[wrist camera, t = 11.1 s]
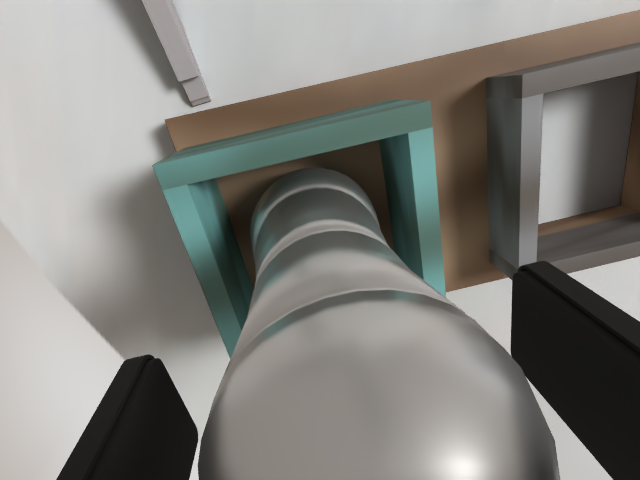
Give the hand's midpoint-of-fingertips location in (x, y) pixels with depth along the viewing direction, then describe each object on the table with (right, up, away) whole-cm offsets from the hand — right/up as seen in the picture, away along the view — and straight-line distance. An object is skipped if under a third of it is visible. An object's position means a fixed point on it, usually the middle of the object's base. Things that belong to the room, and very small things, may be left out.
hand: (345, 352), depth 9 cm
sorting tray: (+6, +7, +12) cm, 16 cm away
